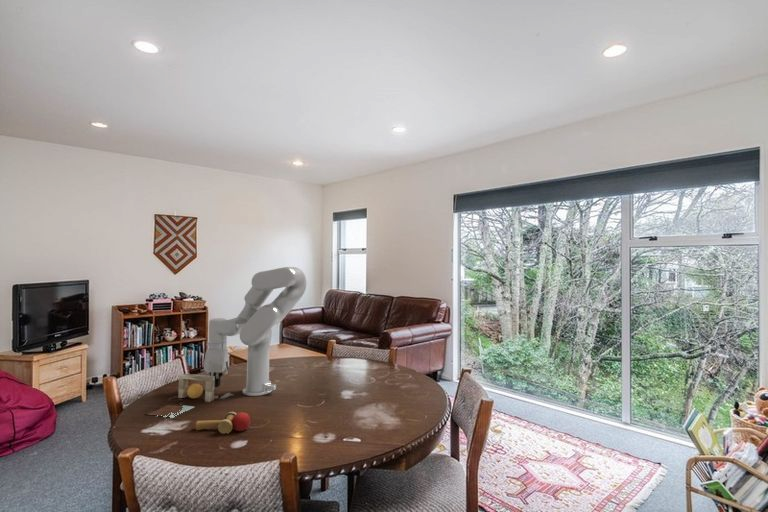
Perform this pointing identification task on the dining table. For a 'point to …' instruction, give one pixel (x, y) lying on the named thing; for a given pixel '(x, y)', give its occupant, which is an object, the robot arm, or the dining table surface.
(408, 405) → the dining table surface
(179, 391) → the bridge
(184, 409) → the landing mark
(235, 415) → the kendama
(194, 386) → the ball
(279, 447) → the dining table surface
